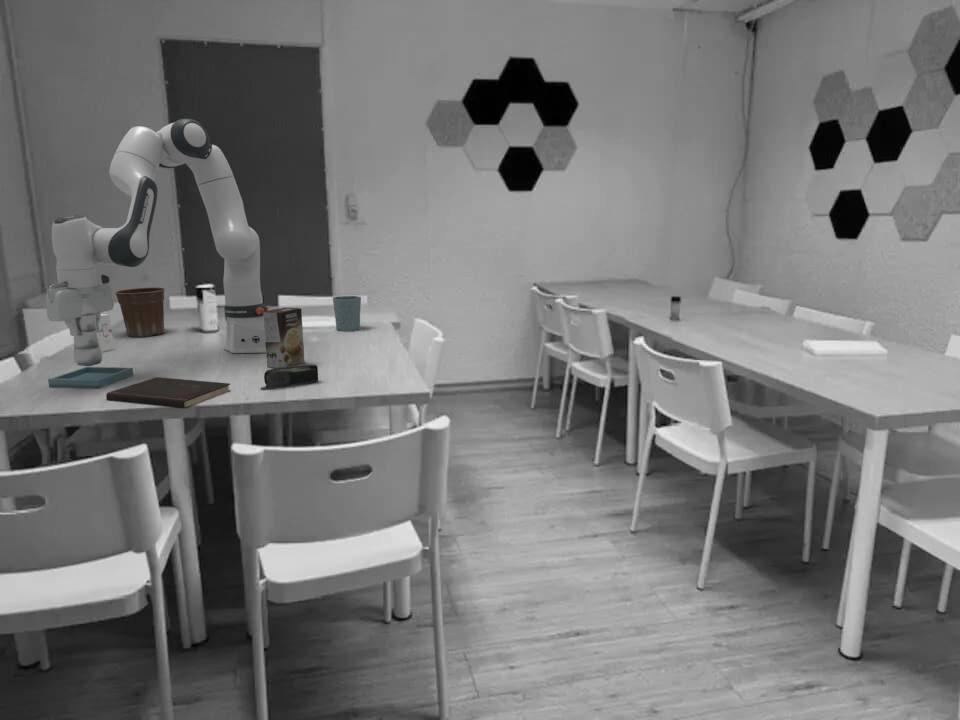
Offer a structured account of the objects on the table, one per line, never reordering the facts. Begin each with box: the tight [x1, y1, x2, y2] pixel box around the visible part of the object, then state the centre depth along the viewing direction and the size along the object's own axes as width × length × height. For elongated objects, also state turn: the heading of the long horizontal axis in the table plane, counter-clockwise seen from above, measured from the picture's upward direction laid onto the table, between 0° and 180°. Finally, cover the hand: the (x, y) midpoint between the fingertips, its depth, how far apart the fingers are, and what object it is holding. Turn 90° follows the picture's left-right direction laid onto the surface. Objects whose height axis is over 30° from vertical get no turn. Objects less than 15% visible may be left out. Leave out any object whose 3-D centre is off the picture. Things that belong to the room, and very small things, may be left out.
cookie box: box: [263, 307, 306, 368], centre depth 194 cm, size 9×6×16 cm
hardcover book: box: [105, 376, 231, 409], centre depth 165 cm, size 16×23×2 cm
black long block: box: [260, 364, 319, 391], centre depth 173 cm, size 5×3×15 cm
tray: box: [47, 366, 134, 389], centre depth 180 cm, size 14×14×2 cm
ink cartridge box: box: [97, 311, 115, 353], centre depth 218 cm, size 9×5×15 cm, turn 65°
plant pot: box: [114, 287, 166, 338], centre depth 244 cm, size 16×16×16 cm
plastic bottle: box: [73, 294, 103, 367], centre depth 177 cm, size 6×7×20 cm
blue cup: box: [332, 295, 362, 333], centre depth 250 cm, size 10×10×12 cm
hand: (85, 332), depth 177 cm, fingers closed on plastic bottle, 5 cm apart
